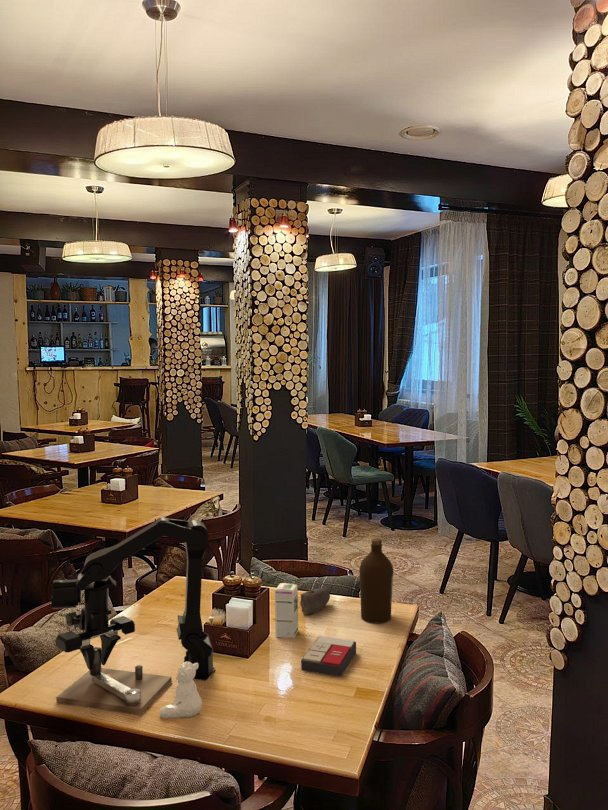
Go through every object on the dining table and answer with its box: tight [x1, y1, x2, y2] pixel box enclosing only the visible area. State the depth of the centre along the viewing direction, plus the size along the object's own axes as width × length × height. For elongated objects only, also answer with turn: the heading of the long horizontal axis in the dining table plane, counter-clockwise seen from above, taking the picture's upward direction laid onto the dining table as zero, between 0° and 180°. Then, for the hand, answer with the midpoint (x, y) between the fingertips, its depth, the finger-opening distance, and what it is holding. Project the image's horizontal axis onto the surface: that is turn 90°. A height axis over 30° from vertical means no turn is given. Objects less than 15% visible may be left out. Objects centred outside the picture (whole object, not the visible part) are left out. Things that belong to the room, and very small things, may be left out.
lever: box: [90, 646, 141, 705], centre depth 160 cm, size 19×4×8 cm, turn 49°
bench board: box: [55, 664, 173, 716], centre depth 163 cm, size 22×16×4 cm
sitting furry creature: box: [158, 661, 203, 719], centre depth 154 cm, size 10×9×12 cm
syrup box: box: [274, 582, 299, 639], centre depth 197 cm, size 6×6×14 cm
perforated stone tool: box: [299, 587, 331, 615], centre depth 217 cm, size 15×5×7 cm, turn 141°
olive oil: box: [358, 538, 394, 624], centre depth 210 cm, size 11×11×25 cm
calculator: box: [300, 635, 357, 678], centre depth 180 cm, size 11×4×15 cm
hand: (96, 667), depth 165 cm, fingers open, 3 cm apart
